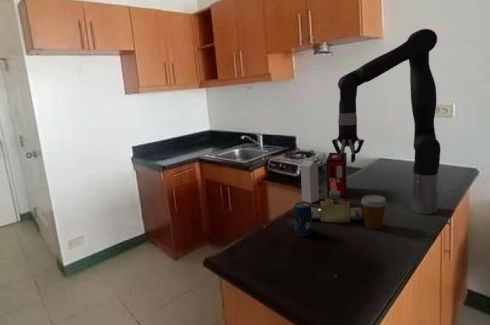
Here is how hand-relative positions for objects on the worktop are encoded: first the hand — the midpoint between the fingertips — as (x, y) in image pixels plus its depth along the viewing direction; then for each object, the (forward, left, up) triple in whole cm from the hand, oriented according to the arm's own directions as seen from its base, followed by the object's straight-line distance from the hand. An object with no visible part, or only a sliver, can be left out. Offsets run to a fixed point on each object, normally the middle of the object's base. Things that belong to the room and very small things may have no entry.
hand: (347, 161), depth 147 cm
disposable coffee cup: (-8, +16, -23) cm, 30 cm away
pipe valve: (+8, +9, -23) cm, 26 cm away
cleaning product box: (+3, -25, -23) cm, 35 cm away
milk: (+17, -14, -23) cm, 32 cm away
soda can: (+19, +23, -23) cm, 38 cm away
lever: (+6, +2, -14) cm, 15 cm away
